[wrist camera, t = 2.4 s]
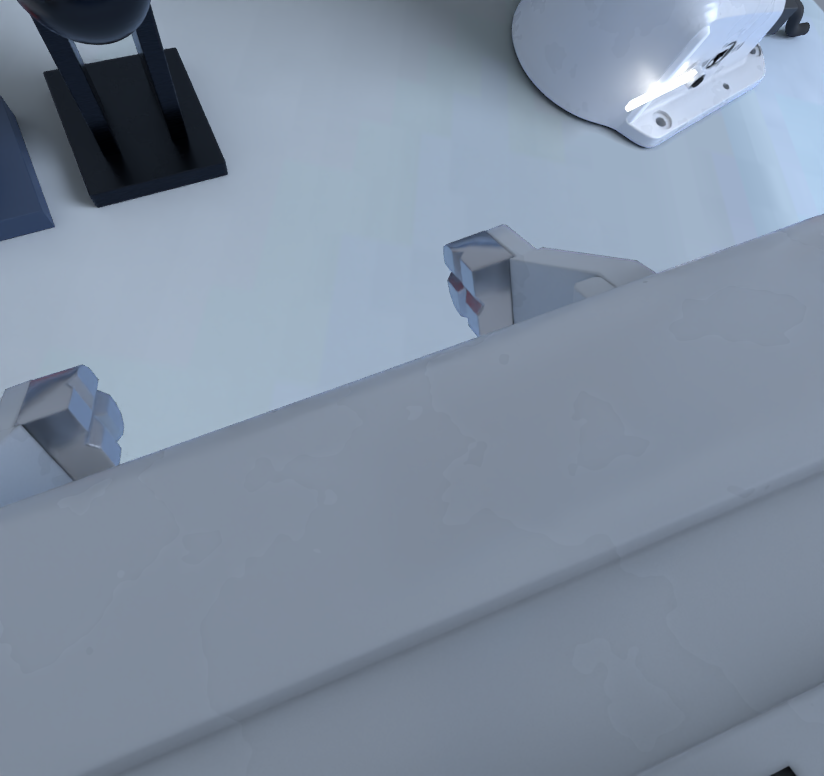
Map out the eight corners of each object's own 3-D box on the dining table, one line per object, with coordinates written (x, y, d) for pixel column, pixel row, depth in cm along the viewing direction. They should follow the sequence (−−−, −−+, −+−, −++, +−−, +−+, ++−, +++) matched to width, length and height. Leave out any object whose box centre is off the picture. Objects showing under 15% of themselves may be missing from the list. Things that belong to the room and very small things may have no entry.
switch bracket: (228, 174, 35) (178, -69, 21) (97, 208, 33) (-57, -39, 19) (179, 63, 36) (103, -234, 22) (51, 88, 34) (-123, -225, 20)
